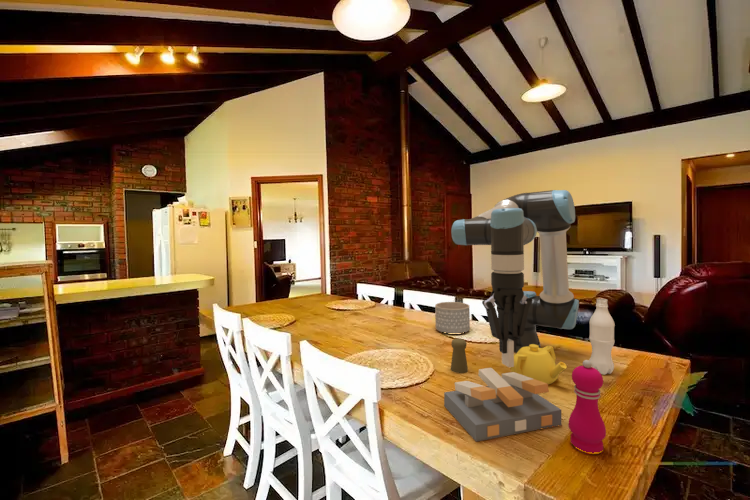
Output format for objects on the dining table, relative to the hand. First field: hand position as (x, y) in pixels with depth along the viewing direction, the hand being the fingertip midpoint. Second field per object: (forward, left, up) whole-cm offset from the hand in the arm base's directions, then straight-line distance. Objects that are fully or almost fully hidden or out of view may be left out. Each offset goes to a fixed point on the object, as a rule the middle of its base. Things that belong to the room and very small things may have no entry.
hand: (507, 364), depth 85 cm
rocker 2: (-1, -5, -8) cm, 9 cm away
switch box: (-1, -5, -16) cm, 17 cm away
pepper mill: (-12, +12, -16) cm, 23 cm away
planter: (-24, -79, -16) cm, 84 cm away
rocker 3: (-8, -5, -8) cm, 13 cm away
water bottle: (-50, -19, -16) cm, 56 cm away
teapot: (-26, -20, -16) cm, 37 cm away
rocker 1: (+7, -5, -8) cm, 11 cm away
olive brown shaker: (-5, -35, -16) cm, 39 cm away
